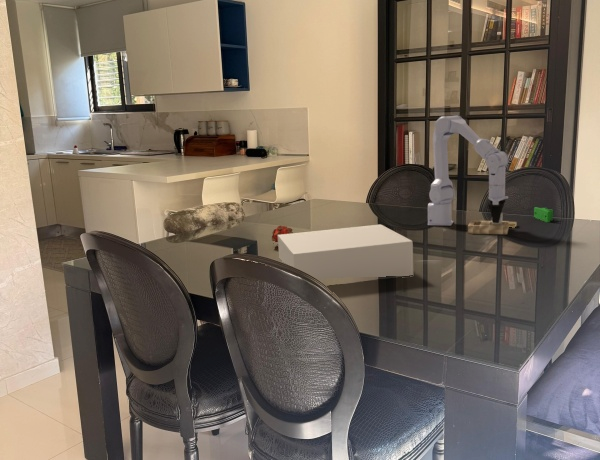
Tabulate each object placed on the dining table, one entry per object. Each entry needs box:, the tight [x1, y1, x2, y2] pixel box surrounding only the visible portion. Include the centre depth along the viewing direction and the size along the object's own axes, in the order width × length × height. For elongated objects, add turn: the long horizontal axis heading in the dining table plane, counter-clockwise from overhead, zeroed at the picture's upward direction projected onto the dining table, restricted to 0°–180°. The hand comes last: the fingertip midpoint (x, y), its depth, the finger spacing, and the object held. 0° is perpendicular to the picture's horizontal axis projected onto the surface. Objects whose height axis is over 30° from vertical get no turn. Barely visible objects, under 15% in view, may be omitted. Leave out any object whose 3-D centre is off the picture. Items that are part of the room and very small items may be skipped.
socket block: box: [467, 220, 510, 235], centre depth 216 cm, size 14×10×3 cm
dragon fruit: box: [271, 225, 294, 242], centre depth 211 cm, size 8×8×12 cm
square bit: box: [491, 211, 503, 225], centre depth 214 cm, size 4×4×7 cm
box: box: [277, 224, 414, 280], centre depth 174 cm, size 28×35×11 cm
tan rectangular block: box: [509, 221, 517, 229], centre depth 221 cm, size 6×4×2 cm, turn 64°
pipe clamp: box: [533, 206, 554, 223], centre depth 230 cm, size 11×4×5 cm, turn 4°
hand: (496, 220), depth 214 cm, fingers open, 7 cm apart
